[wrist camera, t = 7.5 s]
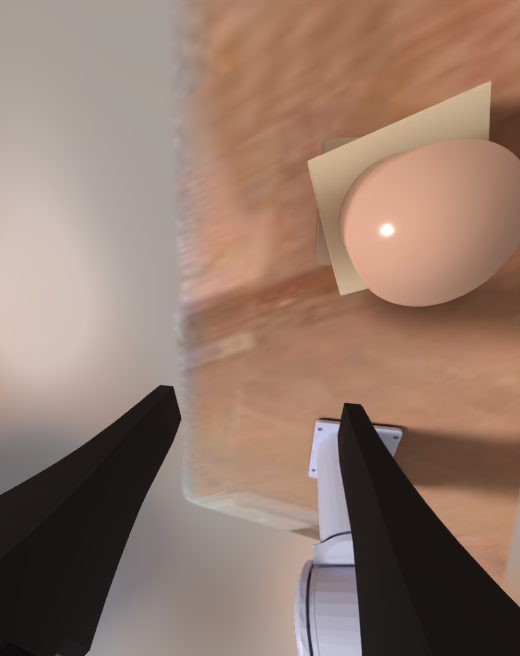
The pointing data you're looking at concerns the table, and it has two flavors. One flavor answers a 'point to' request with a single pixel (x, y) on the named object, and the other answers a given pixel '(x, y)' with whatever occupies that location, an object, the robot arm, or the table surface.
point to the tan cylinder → (433, 220)
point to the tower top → (409, 133)
